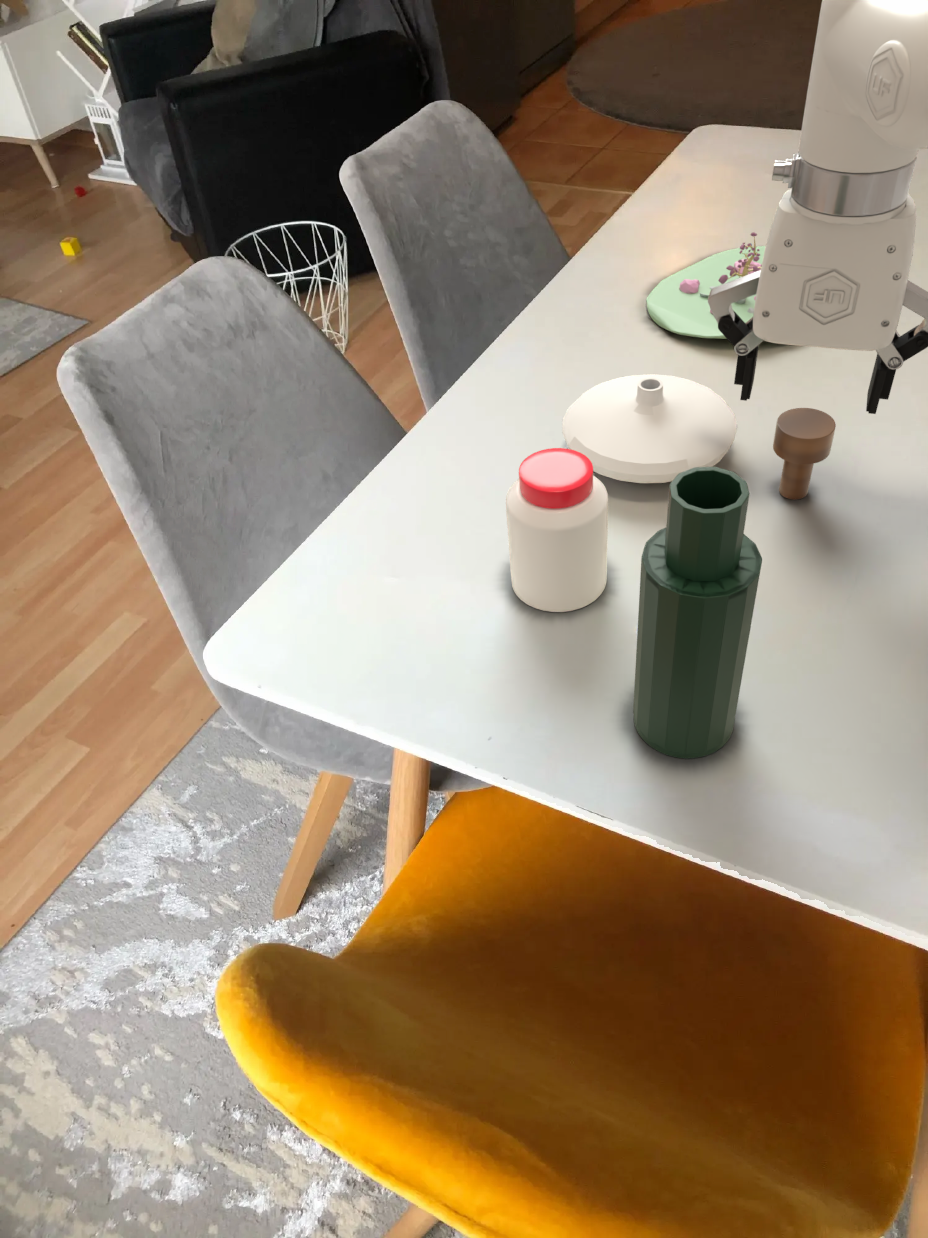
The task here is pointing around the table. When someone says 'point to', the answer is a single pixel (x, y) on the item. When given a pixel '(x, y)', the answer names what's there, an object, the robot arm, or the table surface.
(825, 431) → the stopper
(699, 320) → the plant
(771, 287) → the robot arm
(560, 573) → the pill bottle
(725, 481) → the bottle
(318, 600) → the table surface
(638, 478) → the vase
